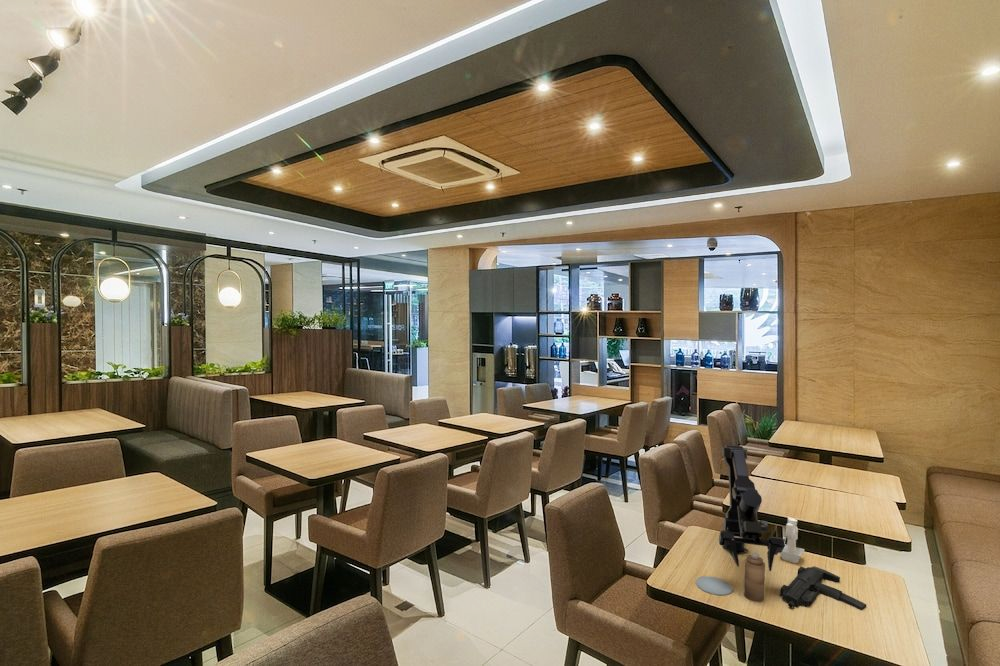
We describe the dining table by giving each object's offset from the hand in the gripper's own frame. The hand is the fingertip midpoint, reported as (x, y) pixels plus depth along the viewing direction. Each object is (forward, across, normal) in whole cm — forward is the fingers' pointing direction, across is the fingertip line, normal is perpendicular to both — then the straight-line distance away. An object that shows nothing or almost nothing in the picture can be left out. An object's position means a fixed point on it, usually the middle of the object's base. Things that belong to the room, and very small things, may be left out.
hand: (754, 568), depth 159 cm
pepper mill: (+7, 0, +6) cm, 9 cm away
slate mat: (+5, -11, +8) cm, 14 cm away
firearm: (+3, +22, +10) cm, 24 cm away
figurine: (-16, +18, +28) cm, 37 cm away
